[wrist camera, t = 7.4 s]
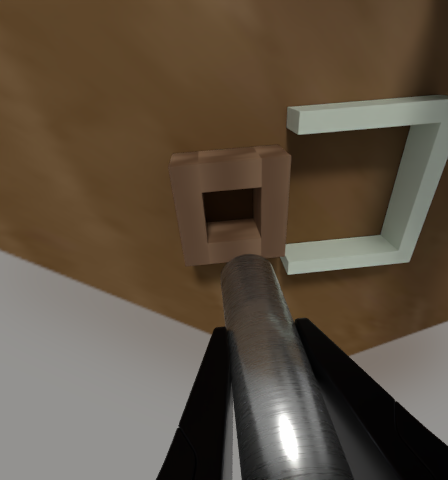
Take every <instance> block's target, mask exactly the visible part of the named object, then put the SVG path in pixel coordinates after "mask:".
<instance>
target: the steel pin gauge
mask: <svg viewBox="0 0 448 480" xmlns="http://www.w3.org/2000/svg"><path fill="white" fill-rule="evenodd" d="M220 278H221V288H222V298H223V307H224V317H225V326H226V329H227V337H228V346H229V355H230V366H231V383H232V392H233V401H234V411H235V419H236V429H237V439H238V448H239V458H240V467H241V476H242V480H354V477H353V475H352V472H351V470H350V467H349V464H348V462H347V459H346V457H345V454H344V451H343V449H342V446H341V444H340V441H339V438H338V436H337V433H336V431H335V428H334V425H333V423H332V420H331V418H330V415H329V412H328V410H327V407H326V404H325V402H324V399H323V397H322V394H321V391H320V389H319V386H318V384H317V381H316V378H315V376H314V373H313V371H312V368H311V365H310V363H309V360H308V358H307V355H306V352H305V350H304V347H303V345H302V342H301V339H300V337H299V334H298V332H297V329H296V326H295V324H294V321H293V319H292V316H291V313H290V311H289V308H288V306H287V303H286V300H285V298H284V295H283V293H282V290H281V287H280V285H279V282H278V280H277V277H276V274H275V272H274V269H273V267H272V265H271V263H270V262H269V261H268V260H267V259H266V258H264V257H262V256H260V255H255V254H244V255H240V256H237V257H235V258H233V259H231V260H230V261H229V262H228V263H227V264H226V265H225V266H224V267H223V269H222V272H221V276H220Z"/></svg>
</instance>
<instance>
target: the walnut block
mask: <svg viewBox="0 0 448 480" xmlns="http://www.w3.org/2000/svg"><path fill="white" fill-rule="evenodd" d="M168 169H169V175H170V180H171V186H172V192H173V197H174V203H175V209H176V214H177V220H178V226H179V231H180V237H181V243H182V248H183V254H184V260H185V265H186V266H195V265H205V264H215V263H225V262H229V261H230V260H231V259H233V258H235V257H237V256H240V255H244V254H255V255H260V256H262V257H264V258H274V257H284V256H285V247H286V231H287V216H288V200H289V185H290V169H291V155H290V154H288V153H287V152H286V151H285V150H284V149H283V148H282V147H281V146H279V145H278V144H277V145H266V146H255V147H243V148H232V149H220V150H209V151H197V152H186V153H174V154H172V157H171V160H170V163H169V166H168ZM247 188H253V218H249V219H238V220H228V221H217V222H206V213H205V205H204V196H203V193H204V192H215V191H225V190H236V189H247Z"/></svg>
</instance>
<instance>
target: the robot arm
mask: <svg viewBox="0 0 448 480" xmlns="http://www.w3.org/2000/svg"><path fill="white" fill-rule="evenodd" d="M294 324H295V326H296V329H297V332H298V334H299V337H300V339H301V342H302V345H303V347H304V350H305V352H306V355H307V358H308V360H309V363H310V365H311V368H312V371H313V373H314V376H315V378H316V381H317V384H318V386H319V389H320V391H321V394H322V397H323V399H324V402H325V404H326V407H327V410H328V412H329V415H330V418H331V420H332V423H333V425H334V428H335V431H336V433H337V436H338V438H339V441H340V444H341V446H342V449H343V451H344V454H345V457H346V459H347V462H348V464H349V467H350V470H351V472H352V475H353V477H354V480H448V446H447V445H446V444H445V443H444V442H442V441H441V440H440V439H439V438H438V437H436V436H435V435H434V434H433V433H432V432H430V431H429V430H428V429H427V428H426V427H425V426H423V425H422V424H421V423H420V422H419V421H418V420H417V419H416V418H415V417H413V416H412V415H411V414H410V413H409V412H408V411H407V410H406V409H405V408H404V407H402V406H401V405H400V404H399V403H398V402H397V401H396V402H395V400H394V398H393V397H392V396H391V395H389V394H388V393H387V392H386V391H385V390H384V389H383V388H382V387H381V386H380V385H379V384H378V383H376V382H375V381H374V380H373V379H372V378H371V377H370V376H369V375H368V374H367V373H366V372H365V371H364V370H363V369H362V368H360V367H359V366H358V365H357V364H356V363H355V362H354V361H353V360H352V359H351V358H350V357H349V356H348V355H346V354H345V353H344V352H343V351H342V350H341V349H340V348H339V347H338V346H337V345H336V344H335V343H334V342H333V341H331V340H330V339H329V338H328V337H327V336H326V335H325V334H324V333H323V332H322V331H321V330H320V329H319V328H317V327H316V326H315V325H314V324H313V323H312V322H311V321H310V320H309V319H307V318H298V319H295V322H294ZM178 426H179V428H177V430H176V433H175V436H174V438H173V441H172V444H171V446H170V448H169V451H168V453H167V456H166V458H165V461H164V463H163V465H162V468H161V470H160V472H159V474H158V477H157V478H156V480H232V444H233V443H232V442H233V392H232V383H231V366H230V355H229V346H228V337H227V329H226V327H216V328H215V329H214V331H213V333H212V336H211V339H210V341H209V344H208V347H207V350H206V352H205V355H204V358H203V361H202V363H201V366H200V368H199V371H198V374H197V376H196V379H195V382H194V385H193V387H192V390H191V393H190V396H189V398H188V401H187V403H186V406H185V409H184V411H183V414H182V417H181V420H180V422H179V425H178Z"/></svg>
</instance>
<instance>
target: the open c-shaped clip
mask: <svg viewBox="0 0 448 480" xmlns="http://www.w3.org/2000/svg"><path fill="white" fill-rule="evenodd" d="M406 125H411V126H410V130H409V134H408V137H407V141H406V144H405V148H404V152H403V155H402V159H401V162H400V166H399V170H398V173H397V177H396V180H395V184H394V187H393V191H392V195H391V198H390V202H389V205H388V209H387V213H386V216H385V220H384V223H383V227H382V231H381V234H380V235H374V236H364V237H354V238H344V239H334V240H324V241H314V242H304V243H294V244H286V247H285V256H284V257H280V259H281V261H282V263H283V265H284V268H285V270H286V272H287V274H288V275H290V274H300V273H309V272H319V271H329V270H338V269H348V268H358V267H367V266H377V265H387V264H396V263H406V262H409V261H410V259H411V256H412V253H413V251H414V248H415V245H416V242H417V240H418V237H419V234H420V232H421V229H422V226H423V223H424V221H425V218H426V215H427V212H428V210H429V207H430V204H431V202H432V199H433V196H434V193H435V191H436V188H437V185H438V183H439V180H440V177H441V174H442V172H443V169H444V166H445V163H446V161H447V158H448V96H446V95H428V96H416V97H404V98H392V99H380V100H368V101H356V102H343V103H331V104H319V105H307V106H295V107H288V108H287V127H286V128H288V129H289V130H291V131H293V132H294V133H296V134H298V135H302V134H313V133H325V132H336V131H348V130H360V129H371V128H383V127H394V126H406Z"/></svg>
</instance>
